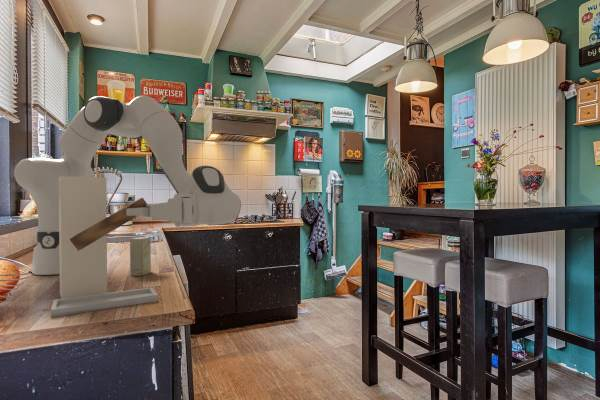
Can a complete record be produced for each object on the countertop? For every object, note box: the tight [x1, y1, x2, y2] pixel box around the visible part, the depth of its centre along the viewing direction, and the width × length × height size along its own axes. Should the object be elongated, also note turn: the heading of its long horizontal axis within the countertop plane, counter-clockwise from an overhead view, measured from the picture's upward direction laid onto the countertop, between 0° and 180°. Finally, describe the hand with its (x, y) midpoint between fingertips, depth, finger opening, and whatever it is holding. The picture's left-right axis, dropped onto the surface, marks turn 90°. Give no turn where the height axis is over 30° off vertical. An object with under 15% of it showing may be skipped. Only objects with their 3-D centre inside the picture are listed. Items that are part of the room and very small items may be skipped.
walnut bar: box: [70, 197, 148, 251], centre depth 85 cm, size 18×3×3 cm
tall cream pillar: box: [59, 176, 108, 299], centre depth 93 cm, size 10×9×31 cm
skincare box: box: [129, 236, 152, 277], centre depth 118 cm, size 6×4×12 cm
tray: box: [50, 286, 159, 318], centre depth 85 cm, size 22×9×2 cm, turn 122°
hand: (124, 211), depth 87 cm, fingers closed on walnut bar, 3 cm apart
